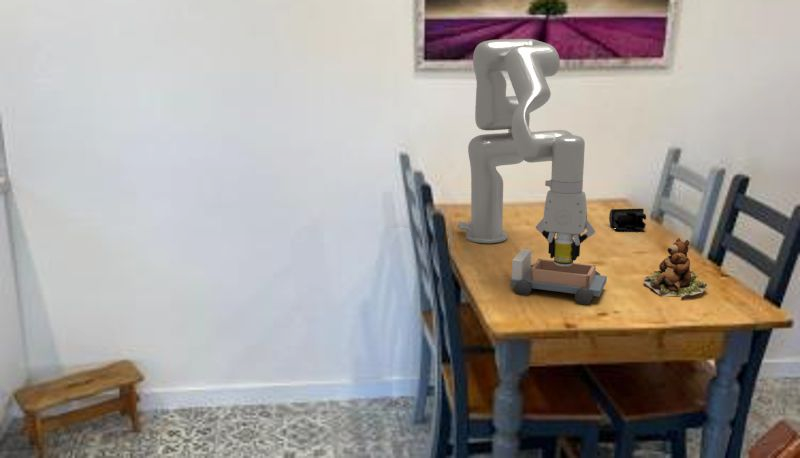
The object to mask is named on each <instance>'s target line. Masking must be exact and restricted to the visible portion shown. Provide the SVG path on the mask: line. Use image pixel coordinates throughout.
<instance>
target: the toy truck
mask: <svg viewBox="0 0 800 458" xmlns="http://www.w3.org/2000/svg"><path fill="white" fill-rule="evenodd" d="M532 252H533V251H532V249H527V248H522V249H521V250H520V251H519V252H518V253H517V254H516V255H515V257H514V258H513V259H512V261H511V262H512V263H511V279H510V280H509V281H510V282H509V283H510V284H509V285H510V286H513V287H514V289H513V290H514V292H515V294H516V295H518V296H524V297H527V296H529V295H530V293H531V292H532V289H537V290H543V291H552V292H560V293H566V294H567V293H568V294H573V295H574V299H575V300H576V303H578V304H579V305H582V306H587V305H589V304H590V303H591V301H592V300H593V297H598V298H599V297H601V293H602V292H603V290H604V288H605V285H606V284H607V278H608V276H607V275H601V274H600V272H598V271H597V270H596V269H597V265H596V264H587V263H579V262H573V265H571V266H558V265H556V264H555V263H554V259H544V258H537V260H536V262H535V263H532Z"/></svg>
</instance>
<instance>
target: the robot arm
mask: <svg viewBox="0 0 800 458" xmlns="http://www.w3.org/2000/svg"><path fill="white" fill-rule="evenodd" d="M472 57H473V58H472V63H473V70H474V74H475V81H476V89H475V107H474V108H475V111H474V114H475V115H474V118H475V119H474V120H475V124H476V127H477V128H478V129H480V130H482V131H502V130H508V132H501V133H500V132H499V133H486V134H480V135H477V136H475V137H473V138H471V140H470V141H469V143H468V145H467V146H468V147H467V151H468V159H469V164H470V165H469V166H470V179H471V181H470V185H471V187H470V190H471V191H470V192H471V193H470V197H471V198H470V199H471V200H470V201H471V202H470V221H468V222H465V221H458V224H457V227H458V228H459V230H463V231H464V230H465V231H467V232H466V233H465V239H467V240H468V241H470V242H474V243H476V244H477V243H479V244H497V243H498V244H499V243H501V242H504V241H506V240H507V239H508V233H507V231H504V230H503V219H504V216H503V214H504V209H503V208H504V179H503V176H501V173H499V171H498V170H497V167H501V166H509V165H517V164H520V163H522V162H523V161H524V162H527V163H532V164H533V163H542V162H543V163H544V162H551V178H550V179H549V180H545V183H544V184H545V186H546V187H549V189H550V190H548V191H547V193H546V197H545V202H544V208H543V217H542V219H541V220H540V221H539V222H538V223H537V225H536V226H535V230H536V231H538V232H539V233H541V235H542V236H543V237H544V238H545V239H546V241H547V243H548V250H547V251H548V254H550V256H549V258H550V259H554V251H555V239H556V235H557V233H562V234H573V240H574V245H573V251H572V260H573V262H574V261H576V259H578V258H579V257H580V255H581V244H582V243H583V242H584V241H586V240H587V239H588V238H590V237H592V236H594V235H595V233H596V230H595V228H594V227H593V225H592V224H591V222H589V220H588V206H587V195H586V192H585V191H583V186H584V185H583V183H584V165H585V164H584V163H585V140H584V138H583V137H582V136H579V135H574V134H573V133H572V132H570V131H568V130H566V129H558V130H557V129H556V130H542V131H541V130H539V131H531V129H530V117H531V116H530V113H532V112H534V111H536V110H538V109H539V108H541V107H542V106H544V105H545V104H547V103H548V101H549V100H550V98H551V89H550V87H549V84H548V82H547V80H546V78H547V77H553V76H555V75H556V74H557V73H558V71H559V69H560V64H561V60H560V55H559V53H558V51H557V50H556V48H555V47H554V46H553V45H551V44H550V43H547V42H543V41H540V40H537V39H535V38H512V39H511V38H508V39H507V38H505V39H503V38H502V39H490V40H484V41H482V42H480V43H478V44H477V45H476V47H475V49H474V51H473V55H472ZM503 72H507V74H508V78H509V80H510V81H509V82H510V83H511V85H512V88H513V89H512V90H513V91H514V95H511V96H510V95H509V96H507V80H506V77H505V76H504V74H503ZM584 232H585V233H584Z"/></svg>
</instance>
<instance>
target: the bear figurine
mask: <svg viewBox="0 0 800 458" xmlns="http://www.w3.org/2000/svg"><path fill="white" fill-rule="evenodd" d="M690 243H691V242H690V240H688V239H685V241H682V240H681V238H680V237H679V238H677V239H676V241H675V242H674V243H673V244H671V245H669V246H668V247H667V252H668V254H669V256H666V257H665V258H664V259H663V260H662V261H661V262H660V263H659V265H658V267H659V268H658V269H659V270H654V274H653V275H647V276H645V278H644V279H643V283H644V284H645V285H646V287H648V288H649V289H650V290H653V291H654V292H655V293H657V295H659V296H660V297H674V296H675V297H680V298H687V297H690V296H695V295H698V294H701V293H704V290H706V291H707V290H709V287H708V285H707V282H706V281H702V280H701V281H700V279H698V280H696V279H697V278H698V277H699V275H698V274H697V273H695V272H694V271H693V270H691V269H690V265H691V259H690V258H689V256H688V252H689V245H690Z"/></svg>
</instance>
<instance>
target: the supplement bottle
mask: <svg viewBox="0 0 800 458" xmlns="http://www.w3.org/2000/svg"><path fill="white" fill-rule="evenodd" d="M574 242H575V241H574V237H573V234H562V233H556V237H555V251H554V258H553V260H554V263H555V264H556V265H558V266H571V265H573V263H574V261H573V260H572V251H573V245H574Z"/></svg>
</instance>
